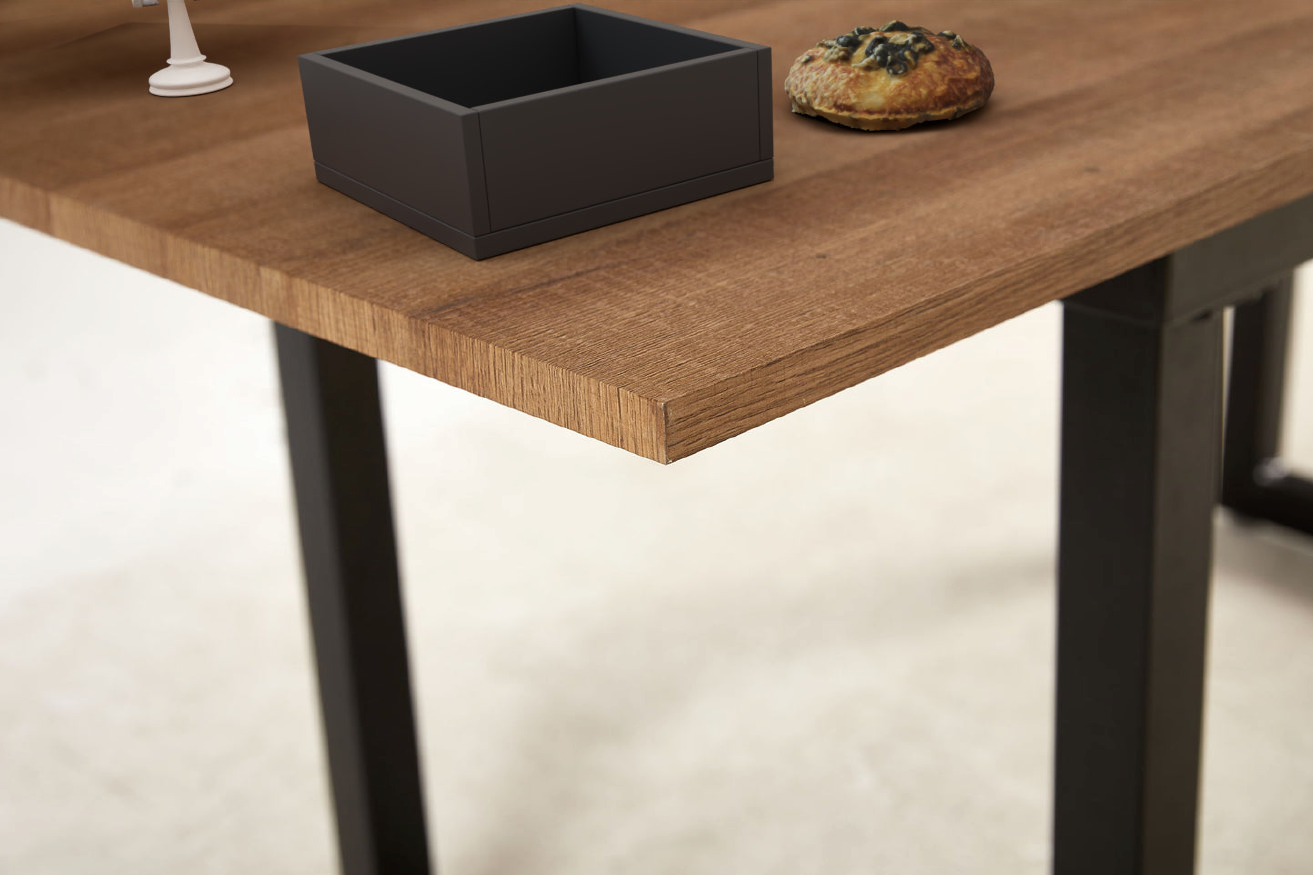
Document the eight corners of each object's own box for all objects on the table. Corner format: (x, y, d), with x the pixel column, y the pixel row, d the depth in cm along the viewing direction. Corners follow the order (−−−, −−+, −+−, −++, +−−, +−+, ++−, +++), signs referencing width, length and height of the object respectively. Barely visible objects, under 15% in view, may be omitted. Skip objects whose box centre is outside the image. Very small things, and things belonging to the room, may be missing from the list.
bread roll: (1037, 90, 81) (1032, -5, 79) (918, 170, 75) (908, 70, 72) (863, 73, 88) (853, -15, 86) (741, 145, 82) (726, 53, 80)
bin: (476, 261, 63) (460, 115, 60) (315, 180, 75) (296, 55, 72) (774, 179, 71) (772, 46, 68) (587, 117, 82) (578, 2, 80)
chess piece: (248, 77, 95) (219, -93, 91) (203, 97, 91) (169, -80, 87) (180, 75, 97) (148, -93, 92) (132, 95, 93) (96, -80, 88)
